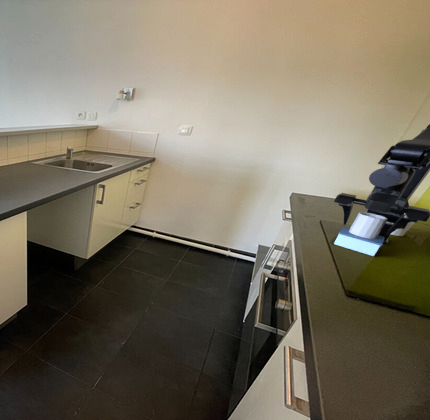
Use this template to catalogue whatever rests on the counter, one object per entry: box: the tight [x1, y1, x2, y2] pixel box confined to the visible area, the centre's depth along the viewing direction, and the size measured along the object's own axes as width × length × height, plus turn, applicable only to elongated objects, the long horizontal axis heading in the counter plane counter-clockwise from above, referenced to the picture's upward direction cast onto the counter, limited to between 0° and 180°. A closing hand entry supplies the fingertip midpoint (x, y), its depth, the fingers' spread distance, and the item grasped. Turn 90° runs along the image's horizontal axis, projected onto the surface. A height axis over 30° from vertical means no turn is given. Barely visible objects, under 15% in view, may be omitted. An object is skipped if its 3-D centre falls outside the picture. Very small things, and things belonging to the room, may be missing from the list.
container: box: [333, 226, 385, 257], centre depth 83 cm, size 9×9×5 cm
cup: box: [349, 211, 388, 239], centre depth 81 cm, size 6×6×7 cm
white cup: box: [390, 222, 415, 237], centre depth 95 cm, size 8×8×10 cm
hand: (364, 229), depth 81 cm, fingers open, 9 cm apart
